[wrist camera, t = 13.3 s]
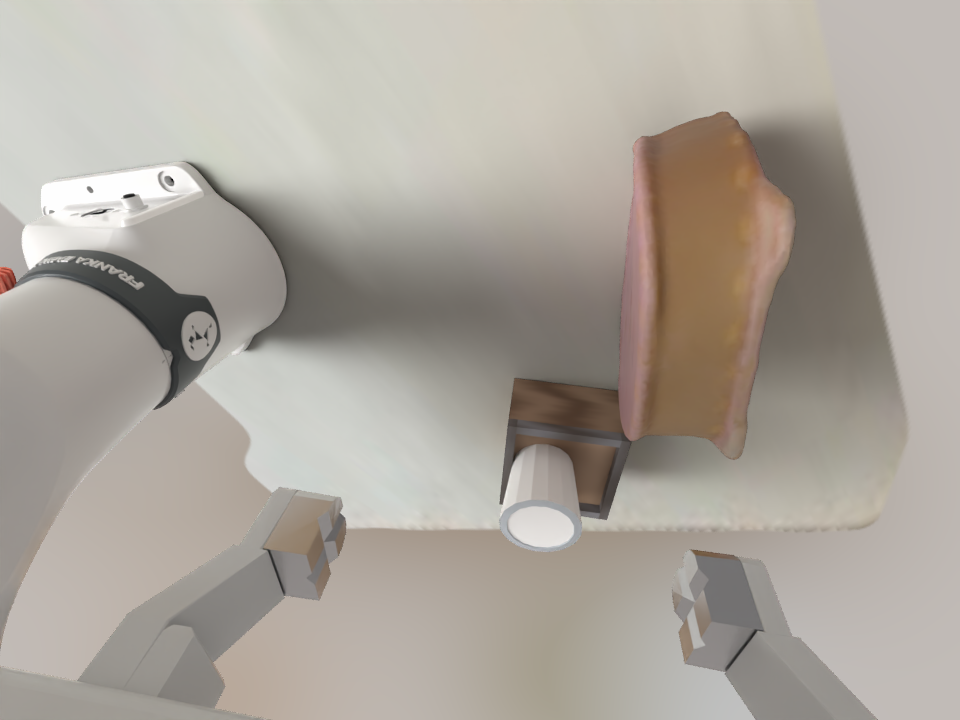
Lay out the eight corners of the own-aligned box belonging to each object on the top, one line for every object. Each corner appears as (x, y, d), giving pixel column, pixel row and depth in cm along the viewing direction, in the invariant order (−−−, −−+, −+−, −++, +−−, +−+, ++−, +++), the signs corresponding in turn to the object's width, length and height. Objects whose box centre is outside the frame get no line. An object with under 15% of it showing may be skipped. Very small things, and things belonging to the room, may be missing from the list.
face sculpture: (689, 348, 43) (747, 496, 29) (609, 353, 44) (629, 496, 31) (712, 98, 32) (821, 150, 18) (605, 115, 33) (633, 174, 20)
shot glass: (502, 482, 47) (494, 545, 42) (512, 433, 43) (504, 494, 38) (571, 495, 47) (572, 559, 41) (587, 446, 43) (591, 509, 37)
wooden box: (506, 453, 54) (499, 504, 48) (514, 378, 47) (507, 425, 42) (602, 466, 53) (606, 519, 47) (623, 391, 46) (631, 442, 41)
